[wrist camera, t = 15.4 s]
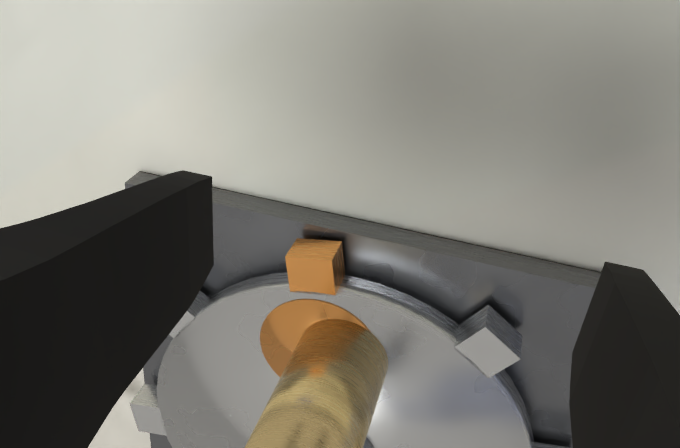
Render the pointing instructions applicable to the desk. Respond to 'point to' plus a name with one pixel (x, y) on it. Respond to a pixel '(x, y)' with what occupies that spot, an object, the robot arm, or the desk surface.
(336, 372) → the roller
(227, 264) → the base plate
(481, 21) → the desk surface
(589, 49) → the desk surface
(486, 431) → the tabbed metal disc
